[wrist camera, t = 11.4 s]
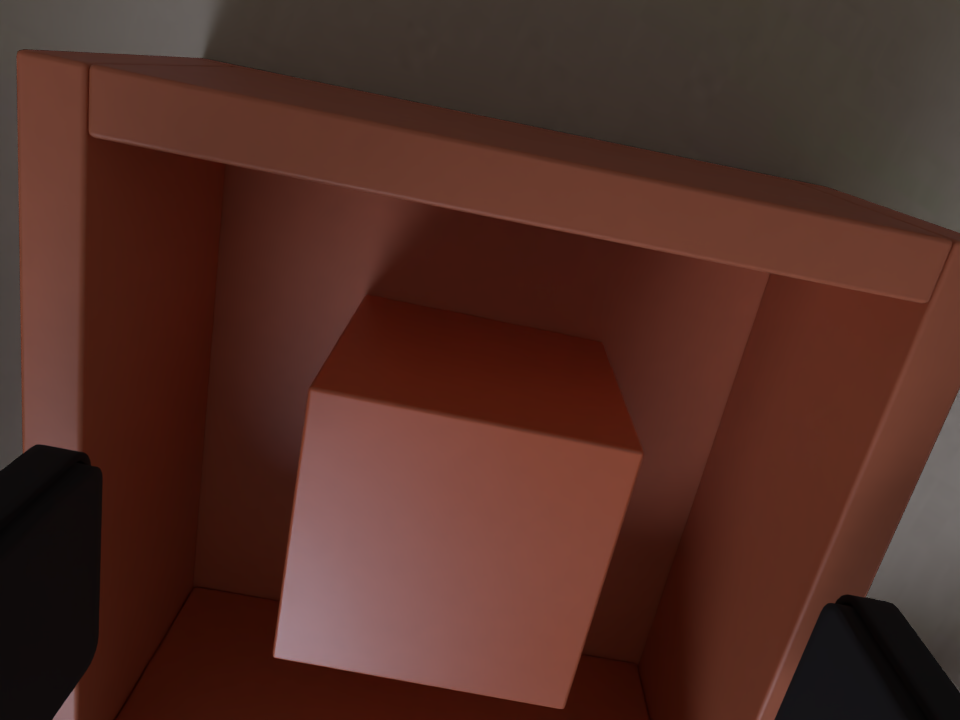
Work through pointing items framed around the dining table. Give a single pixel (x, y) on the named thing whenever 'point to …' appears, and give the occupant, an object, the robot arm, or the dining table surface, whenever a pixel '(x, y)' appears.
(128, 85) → the terracotta bin
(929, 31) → the dining table surface
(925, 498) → the dining table surface
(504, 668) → the terracotta block
